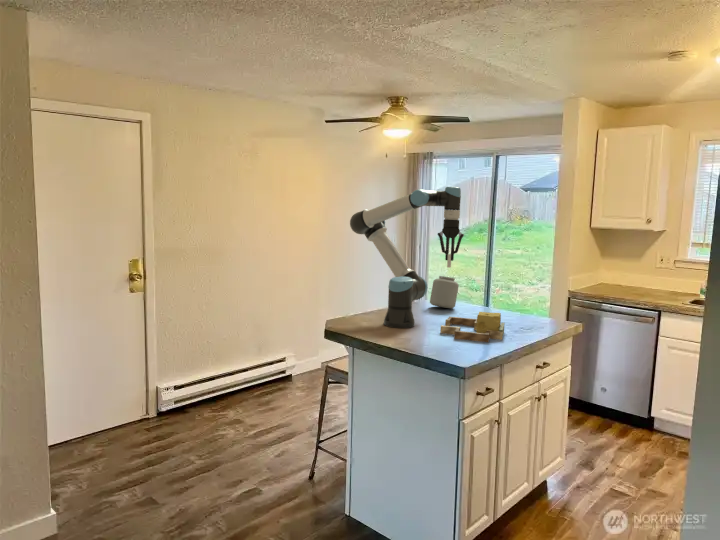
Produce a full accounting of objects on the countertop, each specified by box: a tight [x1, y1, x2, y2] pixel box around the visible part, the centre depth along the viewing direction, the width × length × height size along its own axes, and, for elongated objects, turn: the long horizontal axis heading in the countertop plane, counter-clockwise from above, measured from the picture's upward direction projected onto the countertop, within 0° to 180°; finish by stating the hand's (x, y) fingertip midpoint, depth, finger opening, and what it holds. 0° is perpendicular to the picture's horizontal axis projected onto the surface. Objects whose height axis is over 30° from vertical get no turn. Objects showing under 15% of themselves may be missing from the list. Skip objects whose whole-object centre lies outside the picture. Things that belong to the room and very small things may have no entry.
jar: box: [429, 269, 459, 309], centre depth 310 cm, size 19×15×25 cm
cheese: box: [475, 311, 502, 334], centre depth 250 cm, size 10×11×10 cm
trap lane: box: [440, 316, 505, 343], centre depth 253 cm, size 28×31×4 cm
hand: (449, 267), depth 262 cm, fingers closed
